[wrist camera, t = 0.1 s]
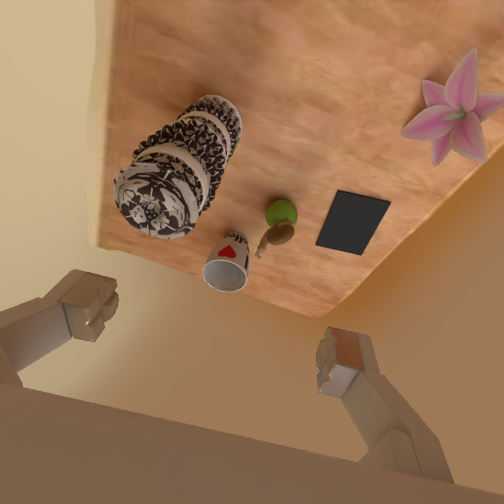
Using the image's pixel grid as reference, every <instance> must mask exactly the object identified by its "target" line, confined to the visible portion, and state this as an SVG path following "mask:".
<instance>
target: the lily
mask: <svg viewBox="0 0 504 504" xmlns="http://www.w3.org/2000/svg"><path fill="white" fill-rule="evenodd" d="M477 74H478V54H477V49H476V48H475V47H474V48H473V49H471V50H470V51H469V52H468V53H467V54H466V55H465V56H464V57H463V59H462V60H461V61H460V62H459V64H458V65H457V67H456V68H455V69H454V71H453V72H452V74H451V75H450V77H449V78H448V80H447V82H446V85H445V86H443V85H441V84H438V83H436V82H433V81H430V80H423V82H422V89H423V95H424V99H425V102H426V105H427V108H426V109H425V110H423V111H421V112H420V113H419V114H418V115H416V116H415V117H414V118H413V119H412V120H411V121H410V122H409V123H408V124H407V125H406V126H405V127H404V129H403V130H402V132H401V134H402V136H404V137H406V138H410V139H415V140H421V141H431V140H432V144H431V157H432V163H433V166H434V167H435V166H437V165H438V164H439V163H440V162H441V161H442V160H443V159H444V158H445V157H446V155H447V154H448V153H449V152H450V151H451V149H453V150H454V151H456V152H457V153H459V154H460V155H462V156H464V157H466V158H469V159H471V160H473V161H476V162H480V163H485V162H486V161H487V151H486V146H485V142H484V138H483V133H482V127H481V123H480V122H482V121H484V120H485V119H487V118H488V117H490V116H492V115H493V114H494V113H496V112H497V111H499V110H500V109H501V108H503V107H504V93H501V92H483V93H478V80H477Z"/></svg>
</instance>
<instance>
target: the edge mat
mask: <svg viewBox="0 0 504 504" xmlns="http://www.w3.org/2000/svg"><path fill="white" fill-rule="evenodd" d="M390 204H391V202H388V201H384V200H380V199H375V198H371V197H366V196H362V195H358V194H353V193H349V192H344V191H340V190H338V192H337V194H336V196H335V199H334V201H333V204H332V206H331V209H330V211H329V213H328V216H327V218H326V221H325V223H324V226H323V228H322V230H321V233H320V235H319V238H318V240H317V242H316V245H317V246H321V247H326V248H330V249H334V250H339V251H343V252H348V253H352V254H356V255H362V253H363V252H364V250H365V248H366V246H367V245H368V243H369V241H370V239H371V237H372V236H373V234H374V232H375V230H376V229H377V227H378V225H379V223H380V222H381V220H382V218H383V216H384V215H385V213H386V211H387V209H388V208H389V206H390Z"/></svg>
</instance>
